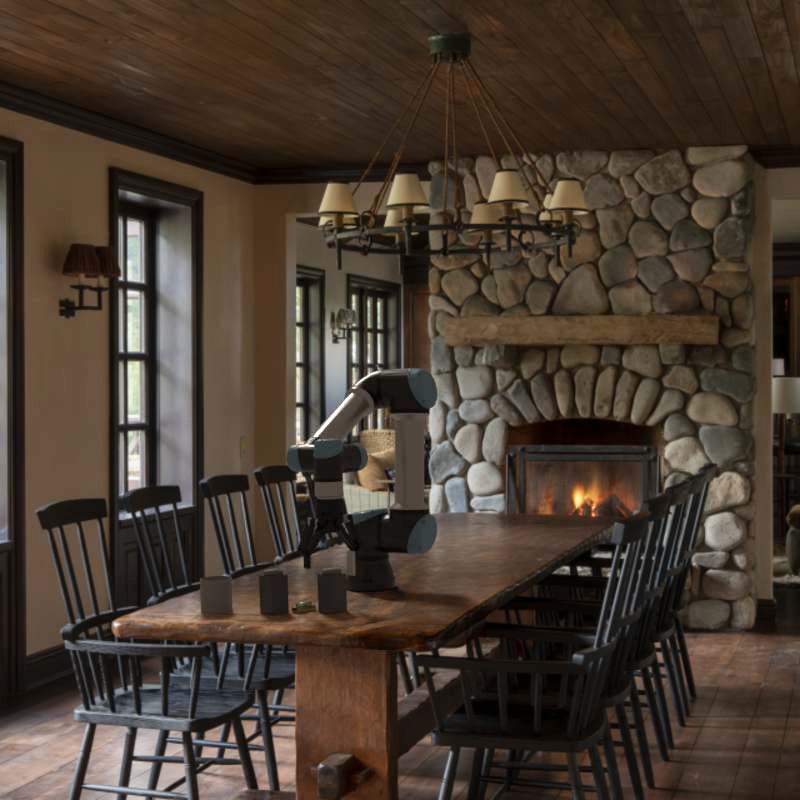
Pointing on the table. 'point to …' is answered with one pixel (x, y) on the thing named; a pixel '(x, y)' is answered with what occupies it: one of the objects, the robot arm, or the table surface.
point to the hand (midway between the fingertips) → (331, 578)
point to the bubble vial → (303, 607)
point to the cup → (216, 594)
